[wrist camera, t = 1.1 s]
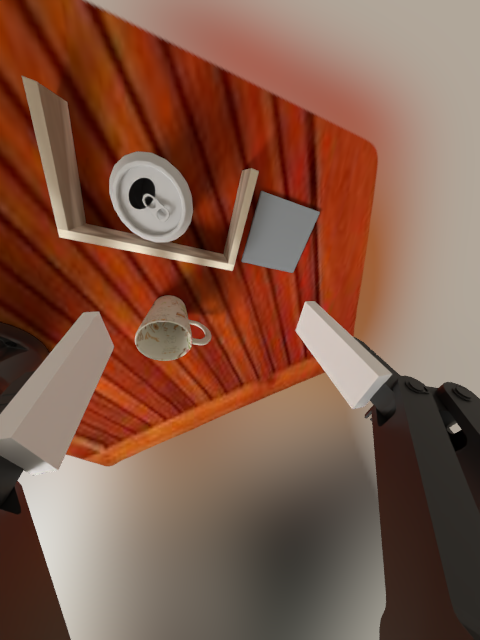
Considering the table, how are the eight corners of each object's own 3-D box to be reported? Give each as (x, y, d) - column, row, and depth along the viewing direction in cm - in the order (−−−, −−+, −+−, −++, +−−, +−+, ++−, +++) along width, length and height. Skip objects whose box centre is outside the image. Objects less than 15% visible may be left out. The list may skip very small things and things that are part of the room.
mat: (241, 260, 34) (242, 262, 34) (260, 190, 28) (262, 191, 28) (291, 271, 38) (292, 273, 37) (318, 211, 32) (320, 212, 31)
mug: (152, 283, 33) (141, 314, 25) (217, 304, 38) (224, 334, 30) (142, 319, 37) (129, 356, 29) (202, 333, 42) (205, 368, 34)
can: (156, 146, 23) (134, 120, 14) (202, 198, 27) (209, 206, 18) (123, 194, 25) (83, 201, 16) (170, 236, 29) (162, 262, 20)
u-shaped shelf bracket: (78, 229, 26) (59, 237, 22) (55, 97, 19) (21, 75, 15) (227, 260, 33) (232, 270, 30) (248, 172, 27) (258, 171, 23)
